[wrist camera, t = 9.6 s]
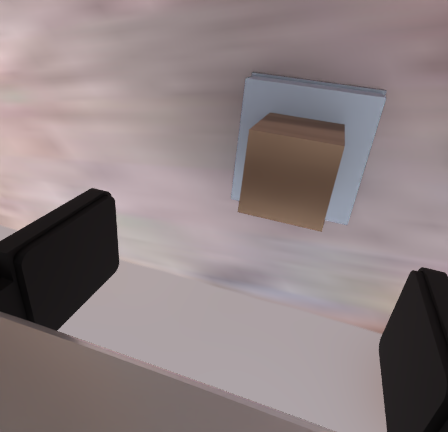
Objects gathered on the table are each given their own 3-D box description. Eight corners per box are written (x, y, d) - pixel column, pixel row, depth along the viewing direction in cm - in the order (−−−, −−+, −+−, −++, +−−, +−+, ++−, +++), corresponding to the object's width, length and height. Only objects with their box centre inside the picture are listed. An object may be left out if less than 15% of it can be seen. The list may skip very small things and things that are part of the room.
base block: (253, 72, 26) (243, 74, 23) (385, 90, 23) (390, 94, 21) (238, 187, 30) (228, 200, 27) (348, 211, 28) (349, 228, 25)
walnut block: (270, 112, 24) (249, 129, 18) (344, 124, 22) (344, 146, 17) (259, 180, 26) (237, 212, 21) (326, 194, 25) (321, 231, 20)
